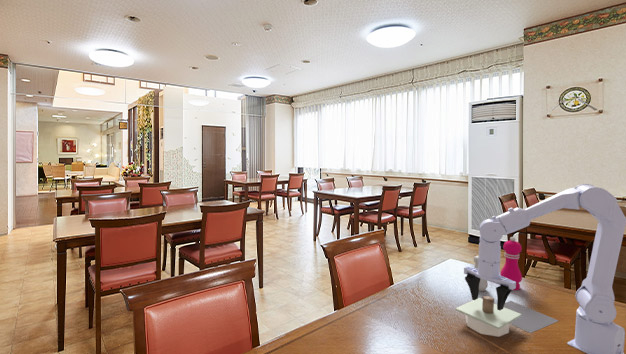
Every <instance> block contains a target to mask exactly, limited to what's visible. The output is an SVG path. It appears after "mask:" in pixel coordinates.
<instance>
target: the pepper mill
mask: <svg viewBox="0 0 626 354" xmlns="http://www.w3.org/2000/svg"><path fill="white" fill-rule="evenodd" d="M502 247H503V251H504V255H503V256H504V257H505V262H504V265H503V267H502V268H501V269H500V275H501V276H503V277H506V278H508V279H510V280H512V281H515V282H516V288H515V289H513V290H512V291H519V290H520V289H521V284H520V283H521V282H522V280H523V275H522V271H521V270H520V268H519V263H518V262H519V259H520V253H522V245H521V244H520V242H519V241H516V237H514V236H510V238H509V240H506V241H505V242H504V243H503V246H502Z"/></svg>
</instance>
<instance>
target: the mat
mask: <svg viewBox="0 0 626 354" xmlns="http://www.w3.org/2000/svg"><path fill="white" fill-rule="evenodd" d="M504 308H507V309H510V310H512V311H515V312H517V313H520V314H521V317H519V318H517V319H516V320H514V321H512V322H510V323H509V325H512V326H514V327H517V328H518V329H521V330H522V331H525V332H527V333H529V334H532V333H535V332H536V331H540V330H541V329H544V328H546V327H549V326H551V325H553V324H555V323H557V322H559V320H558V319H556V318H553V317H551V316H549V315H546V314H543V313H542V312H539V311H536V310H534V309H532V308H531V307H530V308H529V307H528V306H527V307H526V306H525V305H522V304H520V303H518V302H515V301H512V300H509V301H506V302H505V304H504Z"/></svg>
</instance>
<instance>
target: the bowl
mask: <svg viewBox="0 0 626 354" xmlns="http://www.w3.org/2000/svg"><path fill="white" fill-rule="evenodd" d="M464 317H465V322H466V326H467V327H469V328H470V329H472V330H473V331H475V332H477V333H479V334H480V335H484V336H485V335H487V336H491V337H502V336H504V335H506V334H509V333H510V323H509V324H507V325H505V326H504V327H502V328H500V329H497V328H494V327H492V326H490V325H488V324H485V323H483V322H481V321H479V320H476V319H474V318H472V317H470V316H468V315H465V316H464Z"/></svg>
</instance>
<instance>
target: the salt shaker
mask: <svg viewBox="0 0 626 354" xmlns="http://www.w3.org/2000/svg"><path fill="white" fill-rule="evenodd" d="M478 257H479V255H474V256H473V262H474V263H475V264H474V267H473V268H476V269H478ZM488 286H489V285H488V281H487V280H484V279H480V283H479V292H484V291H486V290H487V288H488Z"/></svg>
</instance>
